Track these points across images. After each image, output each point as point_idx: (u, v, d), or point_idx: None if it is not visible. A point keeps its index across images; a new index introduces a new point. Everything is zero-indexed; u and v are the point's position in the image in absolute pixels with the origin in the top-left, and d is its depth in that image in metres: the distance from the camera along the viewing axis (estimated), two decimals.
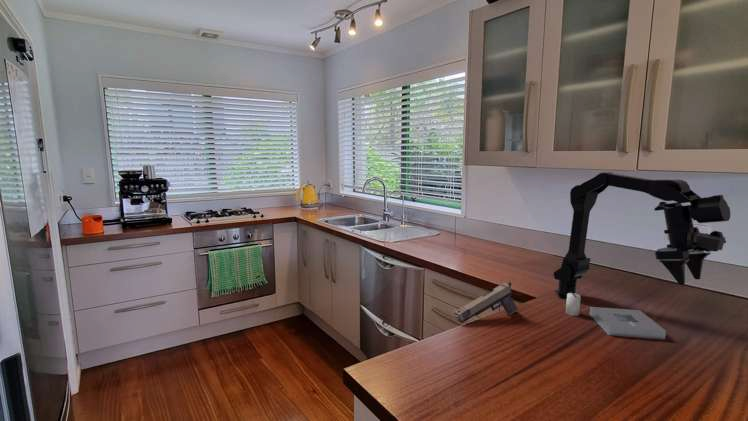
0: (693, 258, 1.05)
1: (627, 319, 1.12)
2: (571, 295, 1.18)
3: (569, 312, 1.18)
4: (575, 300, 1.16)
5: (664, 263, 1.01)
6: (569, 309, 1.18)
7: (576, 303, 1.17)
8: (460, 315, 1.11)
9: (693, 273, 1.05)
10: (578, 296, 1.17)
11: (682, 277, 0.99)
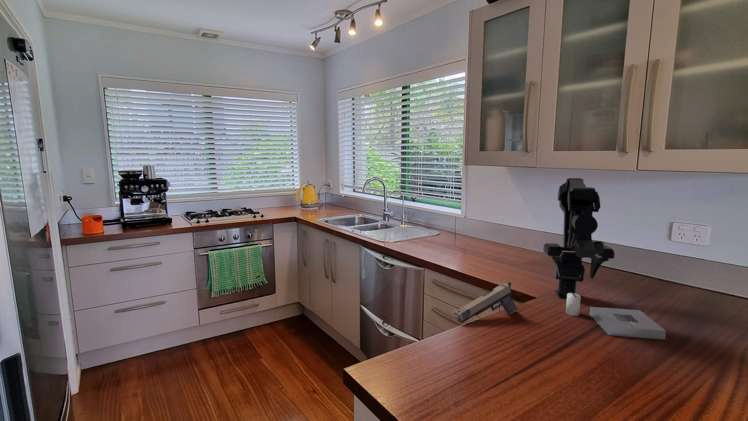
0: (594, 260, 1.16)
1: (627, 319, 1.12)
2: (571, 295, 1.18)
3: (569, 312, 1.18)
4: (575, 300, 1.16)
5: None
6: (569, 309, 1.18)
7: (576, 303, 1.17)
8: (460, 315, 1.11)
9: (590, 272, 1.17)
10: (578, 296, 1.17)
11: (558, 271, 1.17)
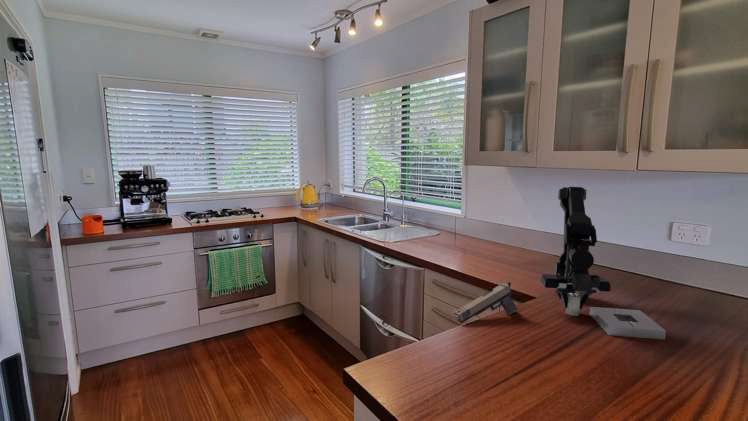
0: (582, 291, 1.18)
1: (627, 319, 1.12)
2: (571, 295, 1.18)
3: (569, 312, 1.18)
4: (575, 300, 1.16)
5: None
6: (569, 309, 1.18)
7: (576, 303, 1.16)
8: (460, 315, 1.11)
9: None
10: (578, 296, 1.17)
11: (564, 302, 1.18)
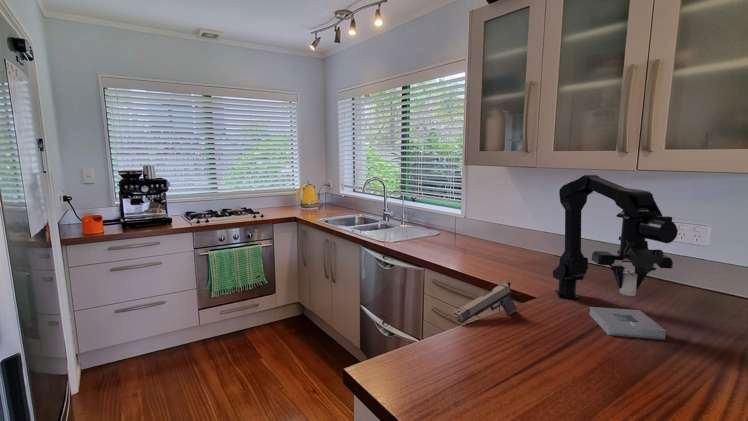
0: (639, 269, 1.07)
1: (627, 319, 1.12)
2: (627, 273, 1.07)
3: (624, 292, 1.07)
4: (632, 278, 1.06)
5: None
6: (625, 289, 1.07)
7: (633, 281, 1.06)
8: (460, 315, 1.11)
9: None
10: (635, 274, 1.07)
11: (619, 281, 1.08)
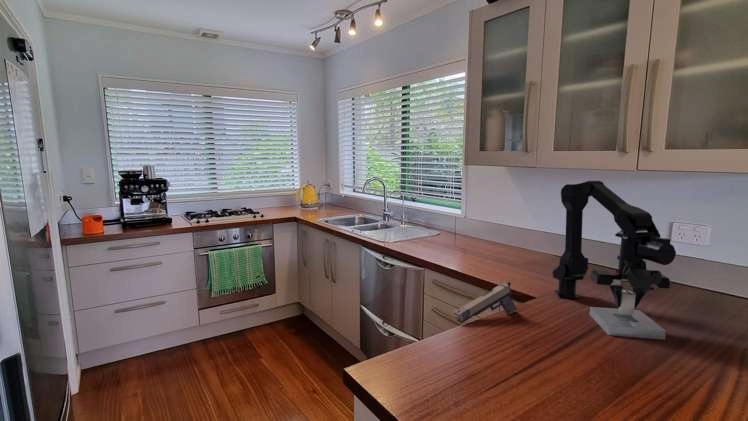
0: (637, 288, 1.08)
1: (627, 319, 1.12)
2: (625, 292, 1.08)
3: (623, 311, 1.08)
4: (630, 298, 1.07)
5: None
6: (623, 308, 1.08)
7: (631, 301, 1.07)
8: (460, 315, 1.11)
9: None
10: (633, 294, 1.07)
11: (617, 300, 1.09)
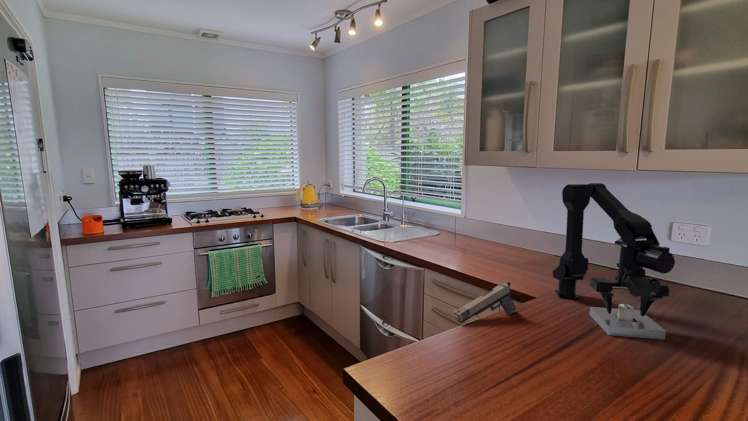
0: (645, 296, 1.08)
1: None
2: (624, 307, 1.09)
3: None
4: (629, 312, 1.07)
5: None
6: None
7: (629, 315, 1.07)
8: (460, 315, 1.11)
9: (641, 309, 1.09)
10: (631, 308, 1.08)
11: (608, 307, 1.10)
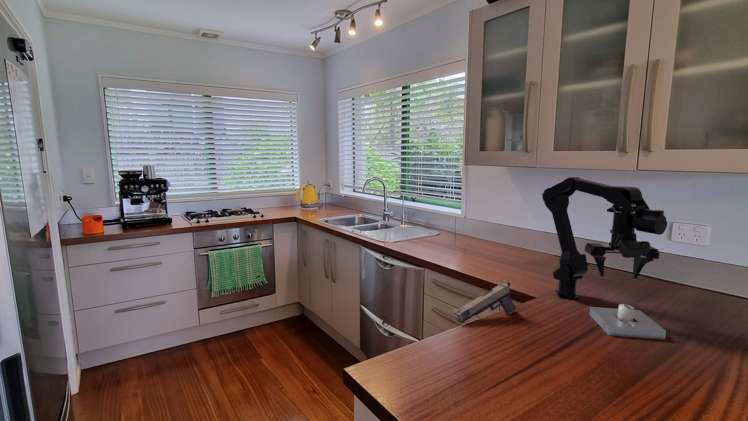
0: (637, 260, 1.15)
1: None
2: (624, 307, 1.09)
3: None
4: (629, 312, 1.07)
5: None
6: None
7: (629, 315, 1.07)
8: (460, 315, 1.11)
9: (633, 272, 1.16)
10: (631, 308, 1.08)
11: (601, 271, 1.17)
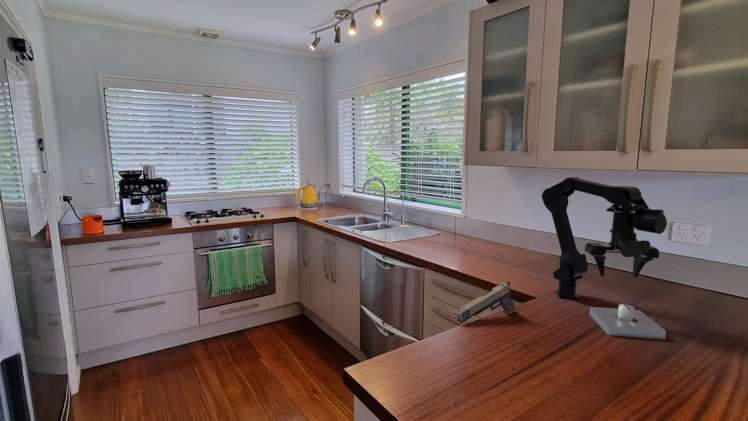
0: (637, 259, 1.15)
1: None
2: (624, 307, 1.09)
3: None
4: (629, 312, 1.07)
5: None
6: None
7: (629, 315, 1.07)
8: (460, 315, 1.11)
9: (633, 272, 1.16)
10: (631, 308, 1.08)
11: (601, 270, 1.17)
